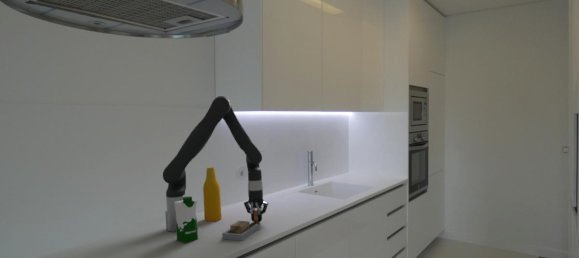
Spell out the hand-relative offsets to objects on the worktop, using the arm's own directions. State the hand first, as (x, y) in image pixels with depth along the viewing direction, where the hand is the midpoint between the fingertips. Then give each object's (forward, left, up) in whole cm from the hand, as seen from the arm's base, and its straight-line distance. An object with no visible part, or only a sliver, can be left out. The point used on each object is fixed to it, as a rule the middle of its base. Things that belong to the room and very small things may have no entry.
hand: (256, 221), depth 186 cm
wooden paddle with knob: (0, -10, -1) cm, 10 cm away
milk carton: (-21, -30, -1) cm, 37 cm away
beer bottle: (-27, +1, -1) cm, 27 cm away
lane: (0, -16, -1) cm, 16 cm away
